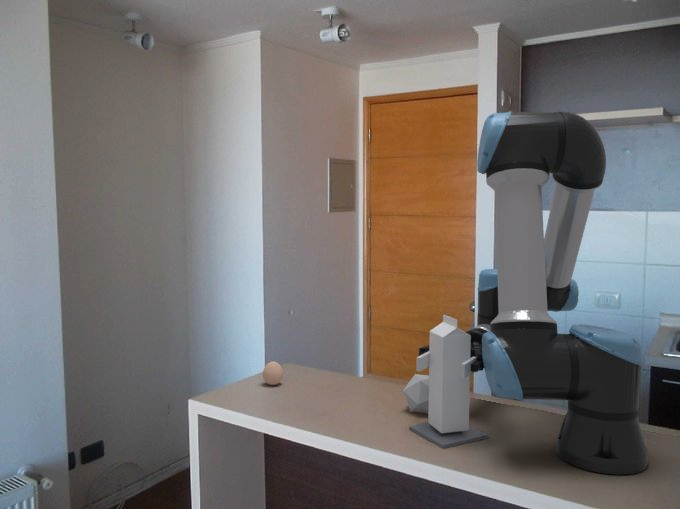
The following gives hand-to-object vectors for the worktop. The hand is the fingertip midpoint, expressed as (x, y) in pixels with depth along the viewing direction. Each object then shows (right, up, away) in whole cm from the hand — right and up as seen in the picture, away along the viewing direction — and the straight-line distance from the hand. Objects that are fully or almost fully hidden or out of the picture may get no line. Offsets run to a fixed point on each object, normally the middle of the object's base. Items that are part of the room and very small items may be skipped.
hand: (440, 367), depth 116 cm
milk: (+2, -13, +5) cm, 14 cm away
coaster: (+2, -14, +5) cm, 15 cm away
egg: (-36, -11, +38) cm, 53 cm away
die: (-1, -13, +18) cm, 22 cm away
